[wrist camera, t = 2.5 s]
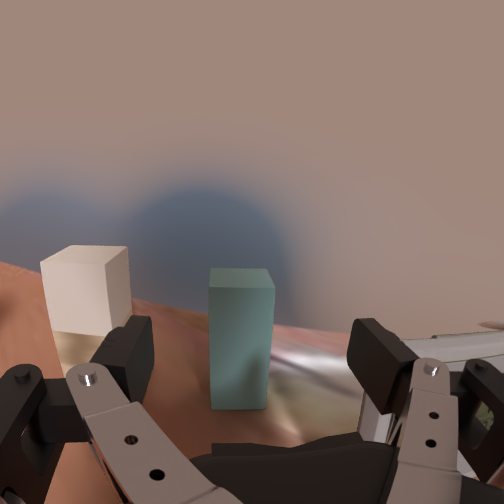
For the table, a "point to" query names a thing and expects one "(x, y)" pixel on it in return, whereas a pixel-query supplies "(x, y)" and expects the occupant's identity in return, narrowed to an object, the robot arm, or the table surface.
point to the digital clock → (454, 356)
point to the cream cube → (87, 289)
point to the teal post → (240, 337)
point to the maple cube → (78, 346)
